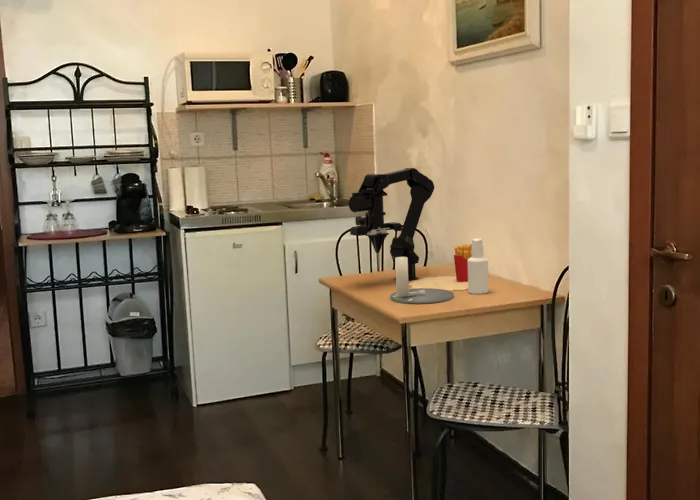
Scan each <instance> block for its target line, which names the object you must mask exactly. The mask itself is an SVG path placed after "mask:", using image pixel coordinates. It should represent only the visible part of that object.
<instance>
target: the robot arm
mask: <svg viewBox="0 0 700 500" xmlns="http://www.w3.org/2000/svg"><path fill="white" fill-rule="evenodd" d="M404 181H406V184H407V186H408V187H409V188H410V192H409V193H410V198H411V200H410V204H409V207H408V210H407V213H406V215H405V218H404V222H403V225H402V224H401V223H400V222H396V221H395V222H394V221H392V222H385V217H384V216H386V214H387V213H386V212H385V211H384V197H386V196H388V192H386V191H385V189H387V188H388V187H389V186H390V185H393V184H396V183H401V182H404ZM434 191H435V184H434V182H433V180H432V179H430V178H429V177H428V176H427V175H425V174H423V173H421V172H420V171H419V170H418V169H417V168H415V167H405V168H403V169H399V170H395V171H392V172H386V173H381V174H380V173H378V174H377V173H375V174H374V173H371V174H370V173H367V174H365V176H364V178H363V181H362V182H361V184H360V187H359V189H358V191H357V192H352V193H351V197H349V200H348V203H347V204H348V208H349V210H350V212H352V213H359V212H361V213H362V212H365V216H361V215H358V216H355V221H354V222H355V225H356V226H355V225H354V226H351V228H350V230H349V234H350V236H351V235H352V236H355V237H362V236H365V237H367V238H368V239H369V240H370V243H371V244H372V247H373V250H374V252H375V253H376V254H379V253H380V251H381V249H382V247H383V244H384V242H385V240H386V238H387V236H389V232H387V231H391V230H393V231H394V232H400V234H399V235H398V237H393V238H392V241H391V244H390V246H389V254H390V257H391V259H392V262H393V263H394V264H395V258H396V257H407V258H408V281H412V280H418V279H419V277H418V276H416V264H419V262H420V256H418V254H417V253H416V252H415V242H414V241H415V240H414V236H415V234H416V231H417V228H418V225H419V221H420V218H421V215H422V213H423V209H424V206H425V203H426V202H427V201H428V200H429V199H431V197H432V195H433V193H434ZM394 279H395V280H396V276H395V277H394Z"/></svg>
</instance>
